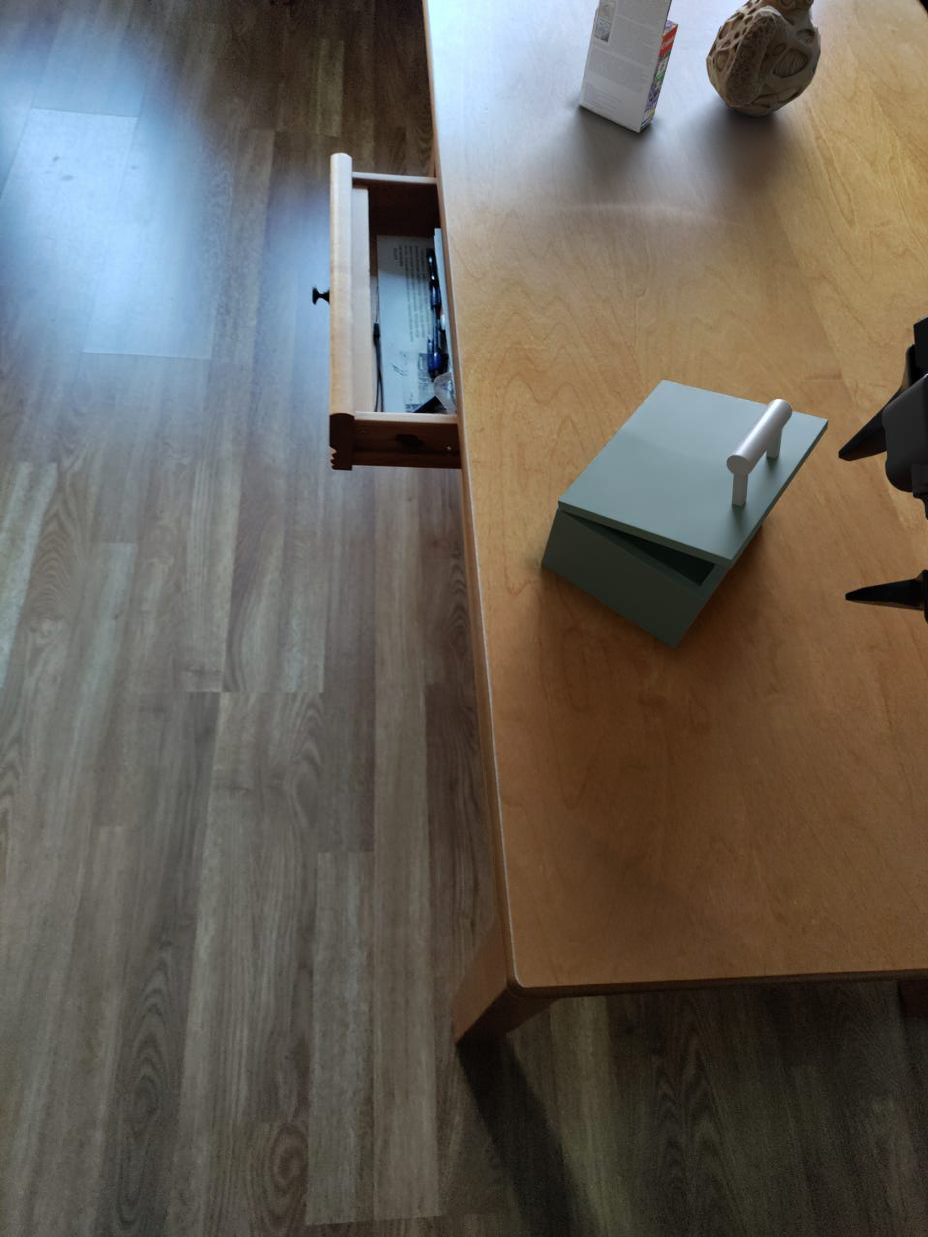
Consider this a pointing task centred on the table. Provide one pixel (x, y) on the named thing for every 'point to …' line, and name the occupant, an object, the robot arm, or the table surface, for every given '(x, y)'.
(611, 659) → the table surface
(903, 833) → the table surface
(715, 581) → the bin
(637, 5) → the ink box
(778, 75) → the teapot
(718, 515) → the bin lid
